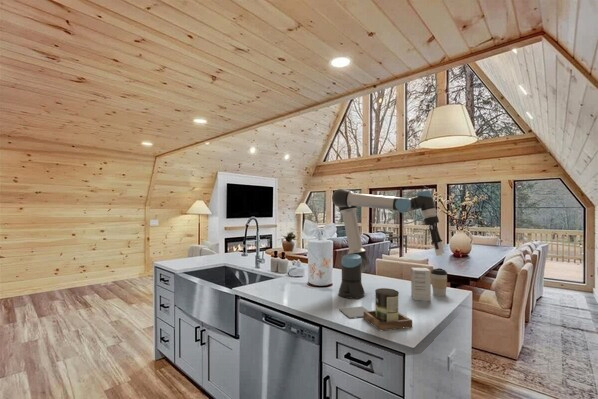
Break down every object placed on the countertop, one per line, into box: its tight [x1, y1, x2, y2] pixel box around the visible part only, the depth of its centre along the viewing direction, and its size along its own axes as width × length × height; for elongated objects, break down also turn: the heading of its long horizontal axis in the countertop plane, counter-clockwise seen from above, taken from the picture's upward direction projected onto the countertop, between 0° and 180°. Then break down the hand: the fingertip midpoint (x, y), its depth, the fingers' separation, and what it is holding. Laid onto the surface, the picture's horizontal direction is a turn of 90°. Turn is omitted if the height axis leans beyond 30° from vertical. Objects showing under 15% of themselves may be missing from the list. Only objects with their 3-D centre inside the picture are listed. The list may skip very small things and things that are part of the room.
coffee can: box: [374, 287, 400, 322], centre depth 138 cm, size 10×10×14 cm
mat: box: [338, 306, 369, 319], centre depth 150 cm, size 13×13×1 cm
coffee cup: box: [430, 267, 448, 297], centre depth 183 cm, size 9×9×15 cm
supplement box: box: [410, 267, 432, 302], centre depth 175 cm, size 10×9×17 cm
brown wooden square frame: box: [363, 309, 413, 331], centre depth 138 cm, size 15×15×3 cm
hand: (440, 254), depth 168 cm, fingers open, 13 cm apart
